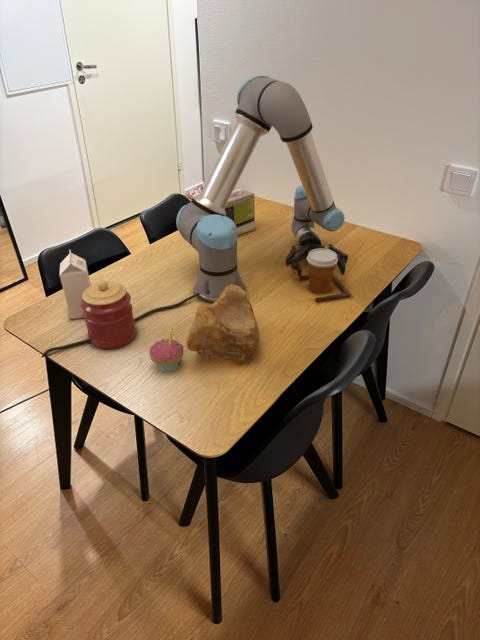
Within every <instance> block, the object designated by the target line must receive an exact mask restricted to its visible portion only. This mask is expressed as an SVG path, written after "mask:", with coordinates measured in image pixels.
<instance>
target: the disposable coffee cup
mask: <svg viewBox="0 0 480 640" xmlns="http://www.w3.org/2000/svg"><path fill="white" fill-rule="evenodd" d="M306 261H307V266H308V267H307V268H308V275H309V279H308V283H309V290H310V291H311V292H313V293H315V294H326V293H328V292H330V288H331V284H332V281H333V280H332V277H333V274H334V273H335V269H336V267H337V262H338V257H337V254H336V253H335V252H334V251H332V250H329V249H322V248H319V249H314V250H311V251H310V252H309V254H308V256H307V258H306Z"/></svg>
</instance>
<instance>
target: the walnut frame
mask: <svg viewBox="0 0 480 640" xmlns="http://www.w3.org/2000/svg"><path fill="white" fill-rule="evenodd" d="M299 280H300V281H307V280H308V281H309V274H307V275H301V277H299ZM332 281H333V283H334V285H336V286H337V288H338V289H339V290H340V292H342V293H337V294H331V295H324V296H320V297H319V296H318V297H315V302H316V303H322V302H329V301H334V300H335V301H336V300H341V299H342V300H343V299H347V298H351V296H352V294H351V292H350V291H349V290H348V289H347V288H346V287H345V286H344V284H343V283H342V282H341V281H340V279H338V278H337V276H336V275H335V274H334V273H333V277H332Z"/></svg>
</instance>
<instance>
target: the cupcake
mask: <svg viewBox="0 0 480 640" xmlns="http://www.w3.org/2000/svg"><path fill="white" fill-rule="evenodd" d="M148 353H149V358H150V360H151V362H152V363H155V364H157V366H158V367H159V369H160V370H161V371H164V372H171V371H174V370H175V369H176V368H177V367H178V365H179V361H180V360H181V359H182V358H183V356H184V345H183V344H182V343H180V342H179V341H177V340H176V339H173V327H171V328H170V330H169V336H168V338H164V339H160V340H157V341H156V342H154V343H153V345H151V346H150V348H149V352H148Z"/></svg>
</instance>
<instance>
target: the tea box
mask: <svg viewBox="0 0 480 640" xmlns="http://www.w3.org/2000/svg"><path fill="white" fill-rule="evenodd" d="M225 212H226V217H228V218H230V219H231V220H232V221H233V222H234V223H235V225H236V231H237V236H240V235H243V234H245V233H247V232H250V231H253V230H255V229H256V214H255V213H256V209H255V193H254V192H250V191H248V190H245V189H243V188H241V187H235V188H234V190H233V192H232V194H231V195H230V197H229V199H228V201H227V203H226V205H225Z"/></svg>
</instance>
